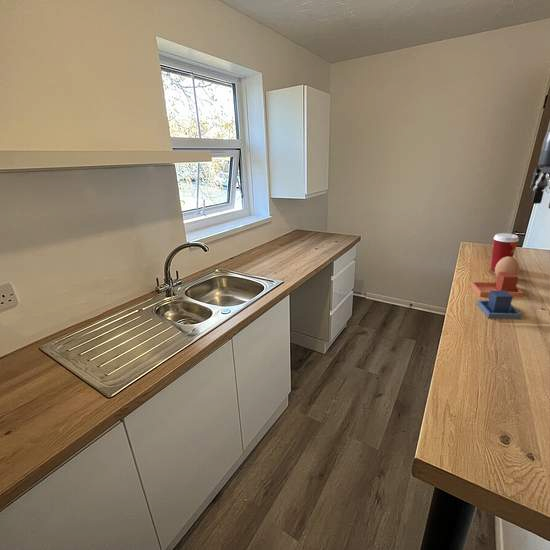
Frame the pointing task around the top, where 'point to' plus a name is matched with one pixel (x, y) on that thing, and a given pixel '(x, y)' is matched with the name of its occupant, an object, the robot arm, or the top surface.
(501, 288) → the terracotta pillar
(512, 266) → the egg
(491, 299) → the slate pillar
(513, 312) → the slate tray
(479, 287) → the terracotta tray
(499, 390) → the top surface
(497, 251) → the paper cup
